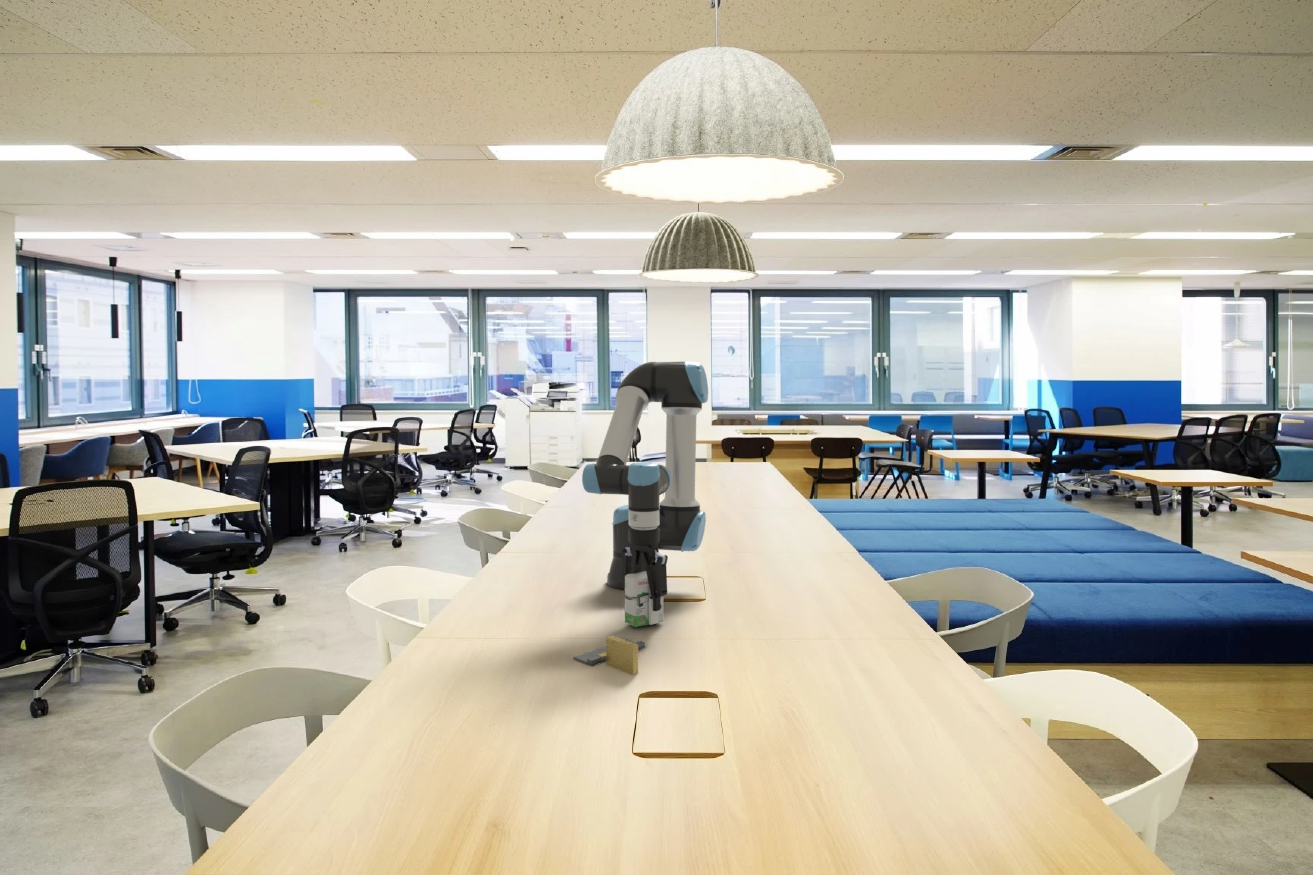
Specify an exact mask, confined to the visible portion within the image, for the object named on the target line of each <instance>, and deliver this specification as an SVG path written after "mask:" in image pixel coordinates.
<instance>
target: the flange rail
mask: <svg viewBox="0 0 1313 875" xmlns="http://www.w3.org/2000/svg"><path fill="white" fill-rule="evenodd" d="M605 639H606V640H605V646H602V647H600V648H596V649H593V650H591V651H586V652H584V653H581V654H578V655H575V656H573V657H572V658H573V660H574V661H576V662H580V663H582V664H586V665H588V666H589V667H594V666H596V665H600V664H603V663H605V664H606V666H607V667H610V668H612V669H616V670H618V671H621V672H623V673H626V674H630V675H631V676H634V675H637V674H639V651H640V650H643V649H646V642H645V641H643V640H638V641H634V640H633V641H632V640H631V639H626V638H625V639H622V638H619V637H616V636H614V635H608V636H606V638H605Z"/></svg>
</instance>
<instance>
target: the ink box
mask: <svg viewBox="0 0 1313 875" xmlns="http://www.w3.org/2000/svg"><path fill="white" fill-rule="evenodd" d="M649 597H651V592H650V587H649V583H648V578H647V573H646V572H639V573H635V574H633V573H632V574H627V575H625V589H624V622H625V623H626V624H628V625H630V626H633V627H635V628H637V627H642V626H647V625H650V624H649ZM661 622H664V596H662V597H661V599H660V610H659V622H658V623H661Z"/></svg>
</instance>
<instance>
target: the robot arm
mask: <svg viewBox="0 0 1313 875" xmlns="http://www.w3.org/2000/svg"><path fill="white" fill-rule="evenodd" d="M615 400H616V405H615V408H614V411H613V414H612V416H611V419H610V422H609V425H608V428H607V431H606V434H605V437H604V440H603V442H602V446H601V449H600V452H599V455H598V457H597V459H596V460H597V461H596V463H589V464H586V465H585V466H584V468H583V470H582V475H581V476H582V477H581V482H582V486H583V487H582V488H583V490H584V491H585V492H586V493H590V494H597V495H623V496H624V495H625V496H628V498H627V499H628V504H627V505H626V504H625V505H622V506H621V505H620V506H619V507H616V508H615V509H614V511H613V516H612V523H611V524H612V561H611V563H610V567H609V572H608V573H607V574H606V581H607V582H606V584H607V585H608V586H609V587H612V588H614V589H619V590H625V575H627V574H632V573H633V574H635V573H639V572H646V573H647V578H648V583H649V587H650V592H651V597H649V624H648V625H650V626H652V625H654V624H658V623H660V622H659V610H660V599H661V597H662V596H663V597H665V596H667V595H668V580H667V579H668V576H667V563H668V559H669V558H668V555H667V554H661V553H660V550H661V551H674V552H675V551H676V552H677V551H679V552H681V553H682V552H696V551H697V550H698V549H699V548H700V547H701V544H702V542H703V538H704V535H705V530H706V529H705V528H706V521H707V520H706V519H707V518H706V517H707V516H706V515H707V514H706V512H705V511H704V510H701V503H699V502H698V500H696V497H695V496H696V461H697V460H696V459H697V458H696V456H697V455H696V452H697V451H696V449H697V448H696V447H697V445H696V444H697V415H698V414H699V413H700V412H701V411H702V409H703V404H705V403H707V402H708V400H709V386H708V378H707V374H706V371H705V368H704V366H703V365H702V364H701V363H700V362H697V361H686V360H685V361H649V362H645V363H642V364H640V365H638V366H637V367H635V368H633V370H631V371H630V372H629V373H628V374H627V375H626V376H625V377H624V378H623V380H622V381H621V383H620V384H619V386H618V389H617V390H616V394H615ZM650 403H661V404H660V405H661V408H660V409H661V410H662V411H663V412H664V413H665V415H666V423H665V424H666V425H665V426H666V427H665V429H666V430H665V431H666V432H665V434H666V436H665V466H664V465H662V464H660V463H659V464H658V463H656V462H652V461H651V462H649V461H639V462H632V463H630V464H628V465H626V464H627V462H628V460H629V455H630V452H631V449H632V446H633V442H634V439H635V437H636V432H637V430H638V427H639V425H640V424H639V423H640V420H641V417H642V414H643V411H645V410H646V409H647V408H648V406H649V404H650ZM661 495H664V498H663V499H662V500H661V501H660V496H661Z"/></svg>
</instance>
